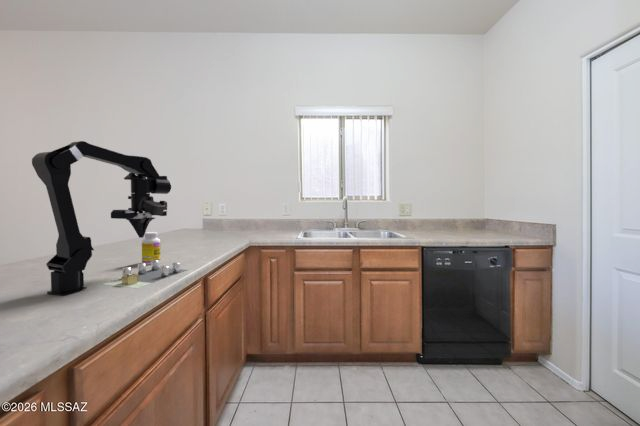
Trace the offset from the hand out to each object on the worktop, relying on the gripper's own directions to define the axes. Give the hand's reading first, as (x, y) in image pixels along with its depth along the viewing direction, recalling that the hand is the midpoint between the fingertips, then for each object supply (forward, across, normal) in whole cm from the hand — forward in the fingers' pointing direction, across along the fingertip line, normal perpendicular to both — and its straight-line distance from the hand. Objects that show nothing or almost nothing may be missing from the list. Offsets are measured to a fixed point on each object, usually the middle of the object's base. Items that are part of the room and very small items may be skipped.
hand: (141, 237), depth 105 cm
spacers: (+13, -2, -6) cm, 14 cm away
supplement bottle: (+13, +14, +9) cm, 21 cm away
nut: (+13, -11, -7) cm, 18 cm away
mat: (+13, -4, -6) cm, 15 cm away
